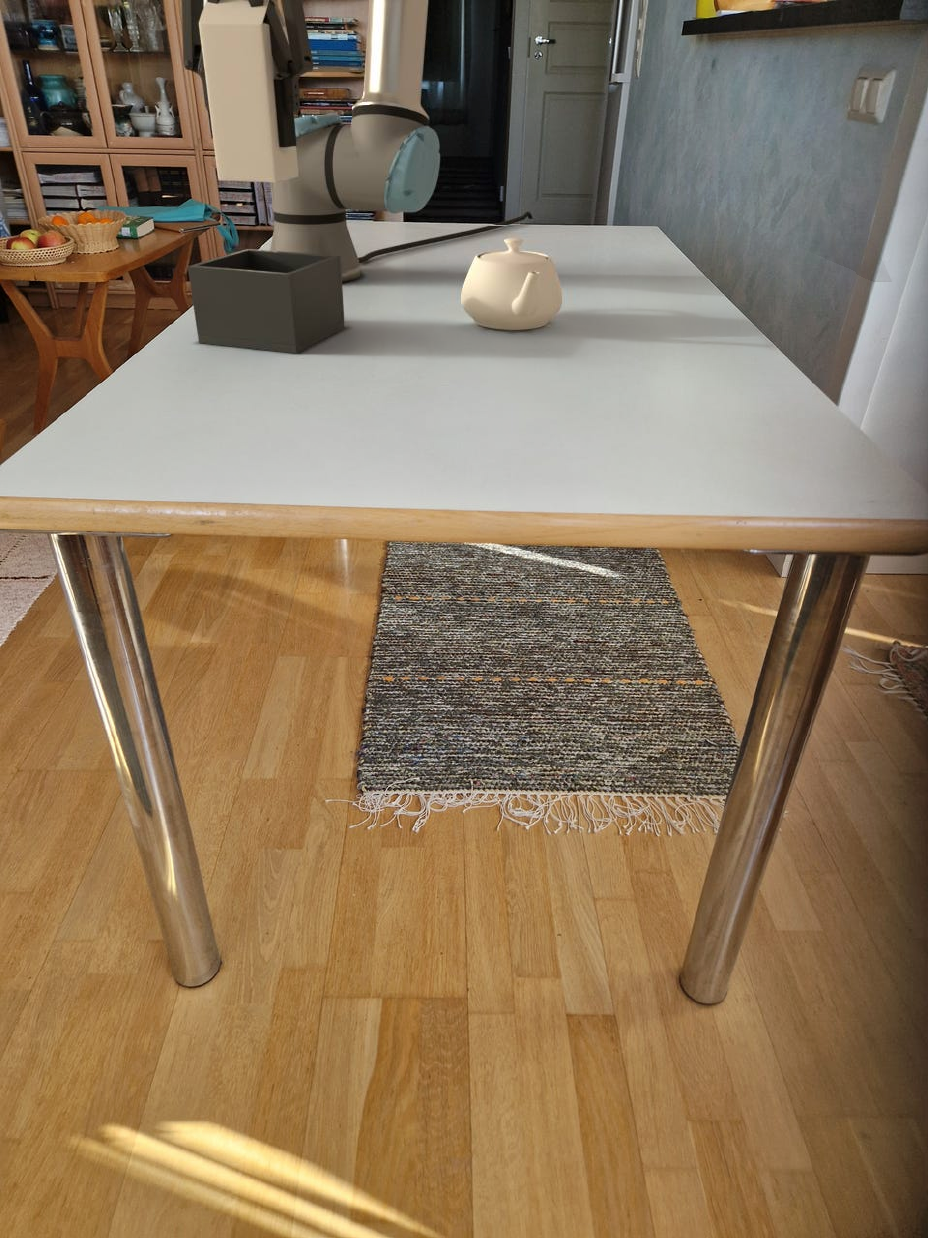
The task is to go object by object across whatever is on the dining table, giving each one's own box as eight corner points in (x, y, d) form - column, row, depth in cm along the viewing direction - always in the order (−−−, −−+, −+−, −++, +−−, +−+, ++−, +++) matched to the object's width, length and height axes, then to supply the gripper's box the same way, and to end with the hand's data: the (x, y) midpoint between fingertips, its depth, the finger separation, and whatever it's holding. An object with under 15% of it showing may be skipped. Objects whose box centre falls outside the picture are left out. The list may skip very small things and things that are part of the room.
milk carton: (276, 184, 98) (257, -25, 87) (218, 181, 99) (192, -25, 89) (298, 178, 103) (283, -18, 93) (243, 176, 105) (222, -18, 94)
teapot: (447, 307, 125) (447, 227, 120) (538, 304, 128) (542, 225, 122) (480, 347, 107) (482, 254, 101) (585, 342, 110) (593, 251, 104)
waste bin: (254, 319, 118) (246, 248, 113) (345, 327, 115) (340, 255, 110) (198, 343, 107) (187, 266, 102) (296, 353, 104) (289, 274, 99)
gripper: (120, -115, 87) (160, 144, 99) (303, -125, 81) (321, 150, 94) (165, -102, 93) (197, 140, 105) (337, -110, 87) (350, 146, 100)
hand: (255, 144), depth 99 cm, fingers closed on milk carton, 7 cm apart
